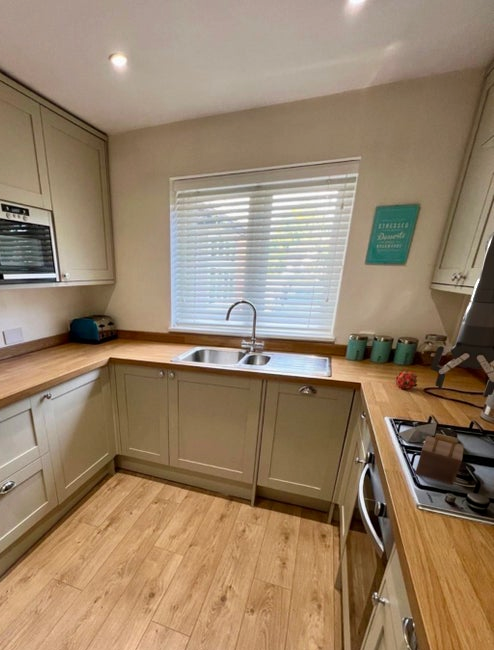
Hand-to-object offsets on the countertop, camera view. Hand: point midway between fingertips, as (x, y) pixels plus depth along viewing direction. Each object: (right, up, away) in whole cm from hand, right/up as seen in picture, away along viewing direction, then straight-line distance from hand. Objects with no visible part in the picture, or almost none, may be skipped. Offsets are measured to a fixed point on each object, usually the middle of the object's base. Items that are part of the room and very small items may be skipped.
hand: (461, 392), depth 79 cm
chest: (+2, -21, +11) cm, 24 cm away
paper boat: (+9, -15, +28) cm, 34 cm away
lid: (+2, -15, +9) cm, 18 cm away
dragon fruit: (+38, +4, +77) cm, 86 cm away
